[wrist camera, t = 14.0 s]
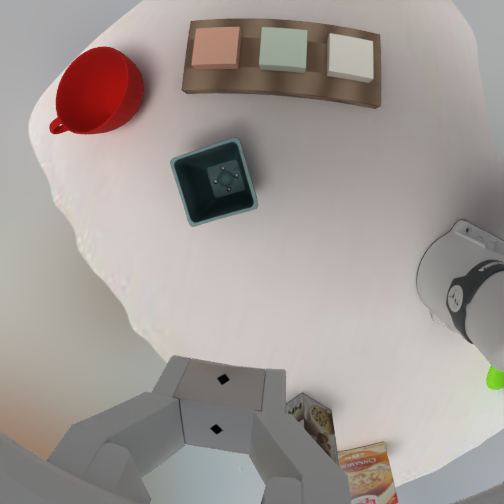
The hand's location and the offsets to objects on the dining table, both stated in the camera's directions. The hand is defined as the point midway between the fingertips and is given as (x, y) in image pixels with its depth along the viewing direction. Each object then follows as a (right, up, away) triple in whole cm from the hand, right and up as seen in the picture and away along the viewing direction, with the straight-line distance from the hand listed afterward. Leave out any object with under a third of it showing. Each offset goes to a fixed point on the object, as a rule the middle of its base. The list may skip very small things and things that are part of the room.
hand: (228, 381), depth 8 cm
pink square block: (-4, +32, +29) cm, 44 cm away
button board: (+5, +32, +29) cm, 43 cm away
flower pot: (-3, +14, +35) cm, 38 cm away
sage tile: (+5, +31, +29) cm, 43 cm away
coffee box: (+12, -29, +46) cm, 56 cm away
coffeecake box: (+26, -47, +51) cm, 74 cm away
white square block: (+14, +31, +28) cm, 44 cm away
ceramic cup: (-22, +28, +33) cm, 48 cm away
